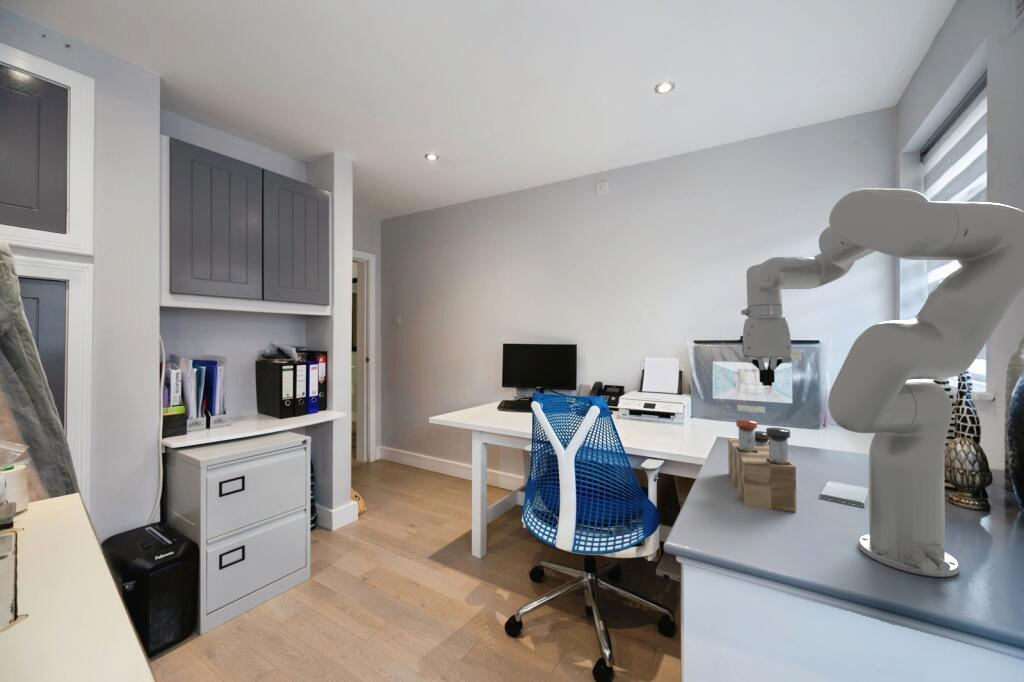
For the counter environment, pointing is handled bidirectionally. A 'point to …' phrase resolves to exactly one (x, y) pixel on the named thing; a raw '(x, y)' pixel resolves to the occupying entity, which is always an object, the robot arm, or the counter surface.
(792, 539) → the counter surface
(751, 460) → the socket block
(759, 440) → the plug far
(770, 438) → the plug near
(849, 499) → the hard drive
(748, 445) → the plug mid
